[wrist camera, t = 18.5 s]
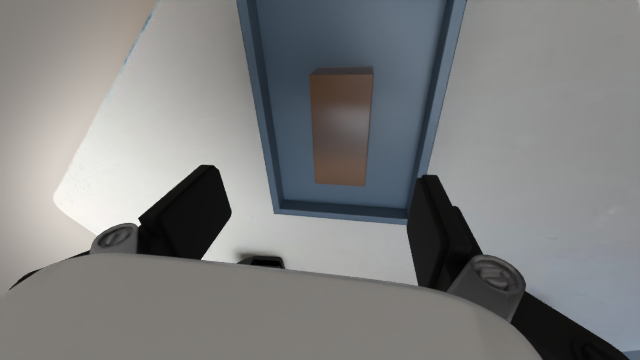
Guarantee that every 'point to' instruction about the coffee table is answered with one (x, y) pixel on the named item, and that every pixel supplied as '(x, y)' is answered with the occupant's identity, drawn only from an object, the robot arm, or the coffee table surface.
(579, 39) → the coffee table surface
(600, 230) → the coffee table surface
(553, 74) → the coffee table surface
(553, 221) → the coffee table surface
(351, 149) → the eraser
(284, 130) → the tray
